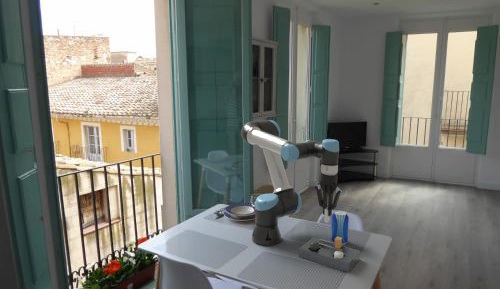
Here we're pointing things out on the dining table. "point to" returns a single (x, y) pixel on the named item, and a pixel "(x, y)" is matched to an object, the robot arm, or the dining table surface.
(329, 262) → the panel
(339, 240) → the toggle knob
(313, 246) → the black button
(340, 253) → the white button
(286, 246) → the dining table surface
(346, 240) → the beer can
